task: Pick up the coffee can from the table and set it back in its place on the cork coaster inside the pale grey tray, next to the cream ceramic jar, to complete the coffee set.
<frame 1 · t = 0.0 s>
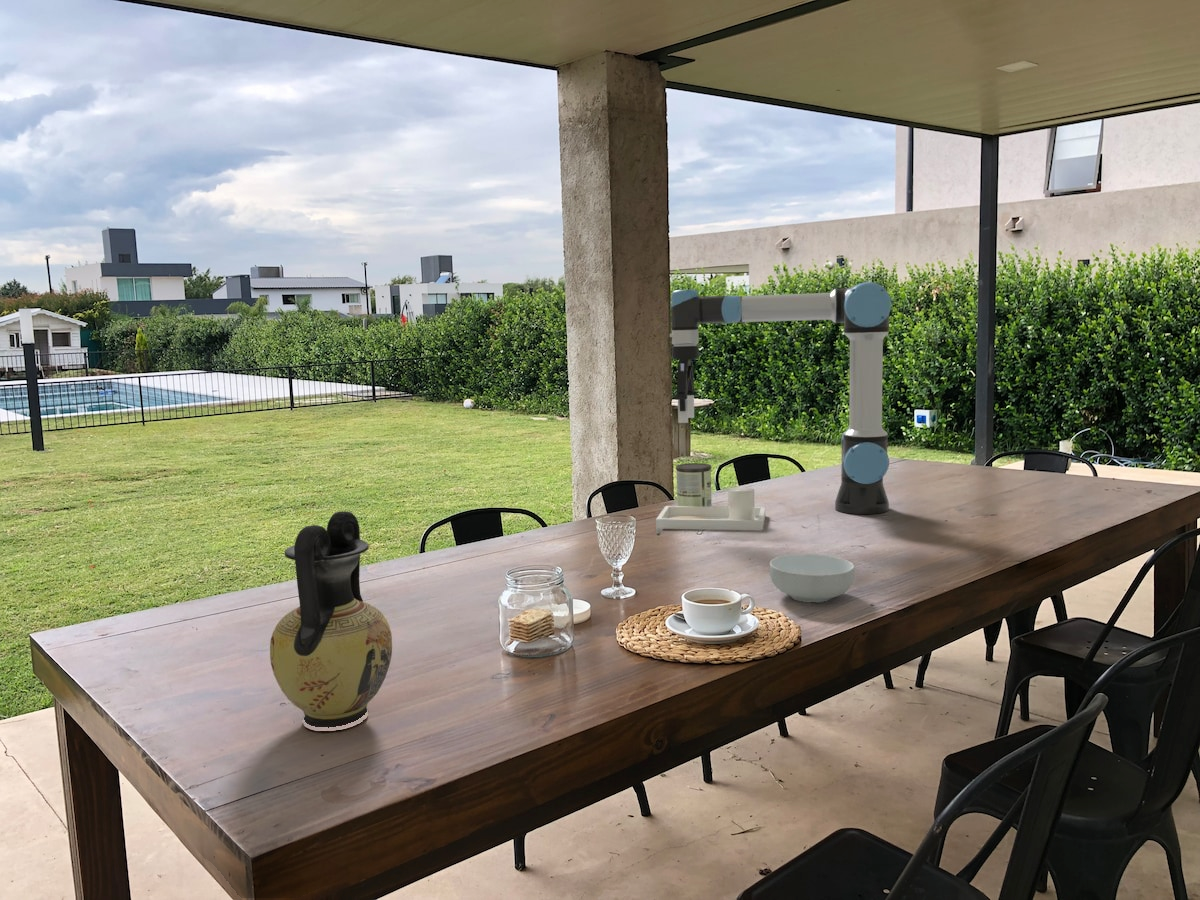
hand: (686, 420, 264), 28 cm above the table, fingers open, 13 cm apart
tray: (712, 527, 253), on the table
cereal bowl: (811, 598, 187), on the table
amphora: (337, 720, 135), on the table
coffee can: (694, 513, 273), on the table
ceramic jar: (741, 522, 251), point 1 cm above the table, touching tray
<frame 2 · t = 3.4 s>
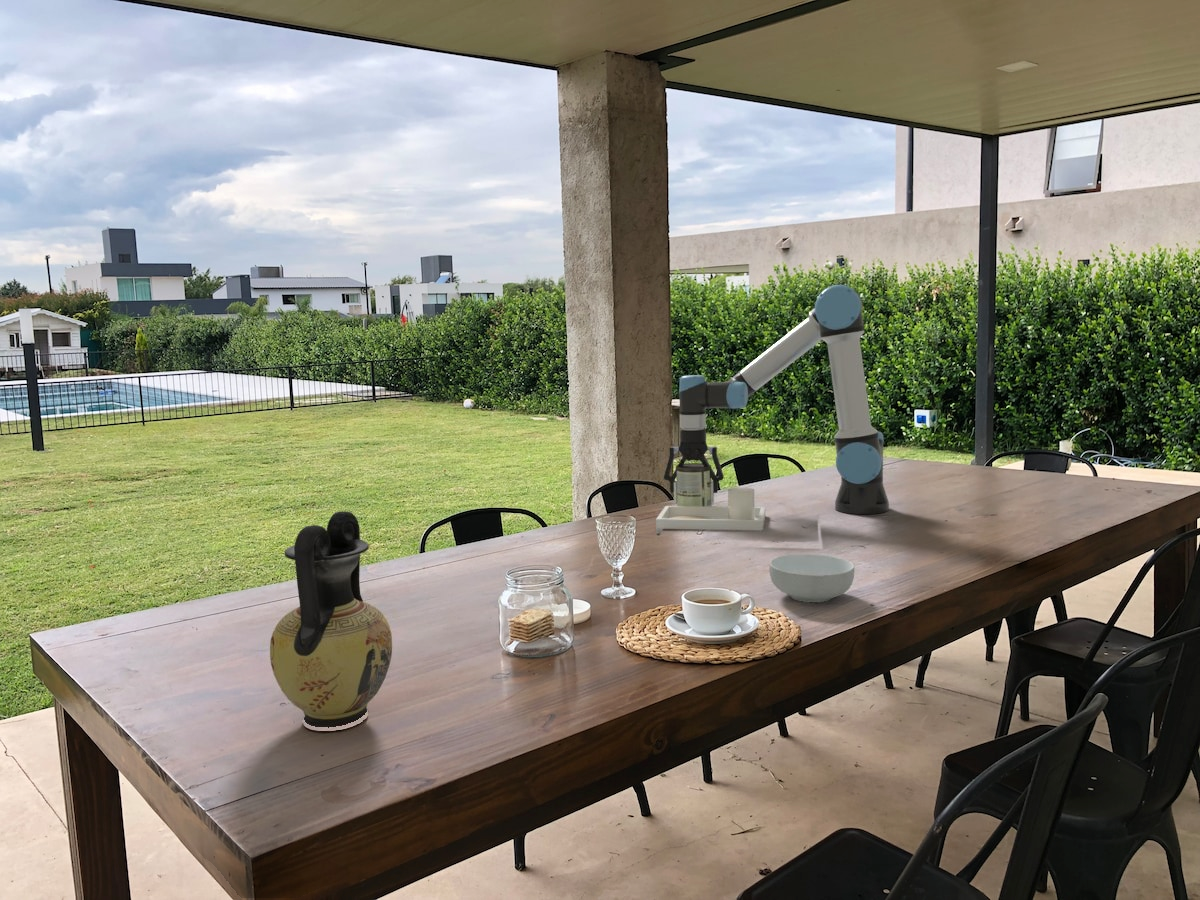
hand: (694, 503, 272), 3 cm above the table, fingers closed on coffee can, 10 cm apart
coffee can: (694, 513, 273), on the table, touching gripper
everything else where it was.
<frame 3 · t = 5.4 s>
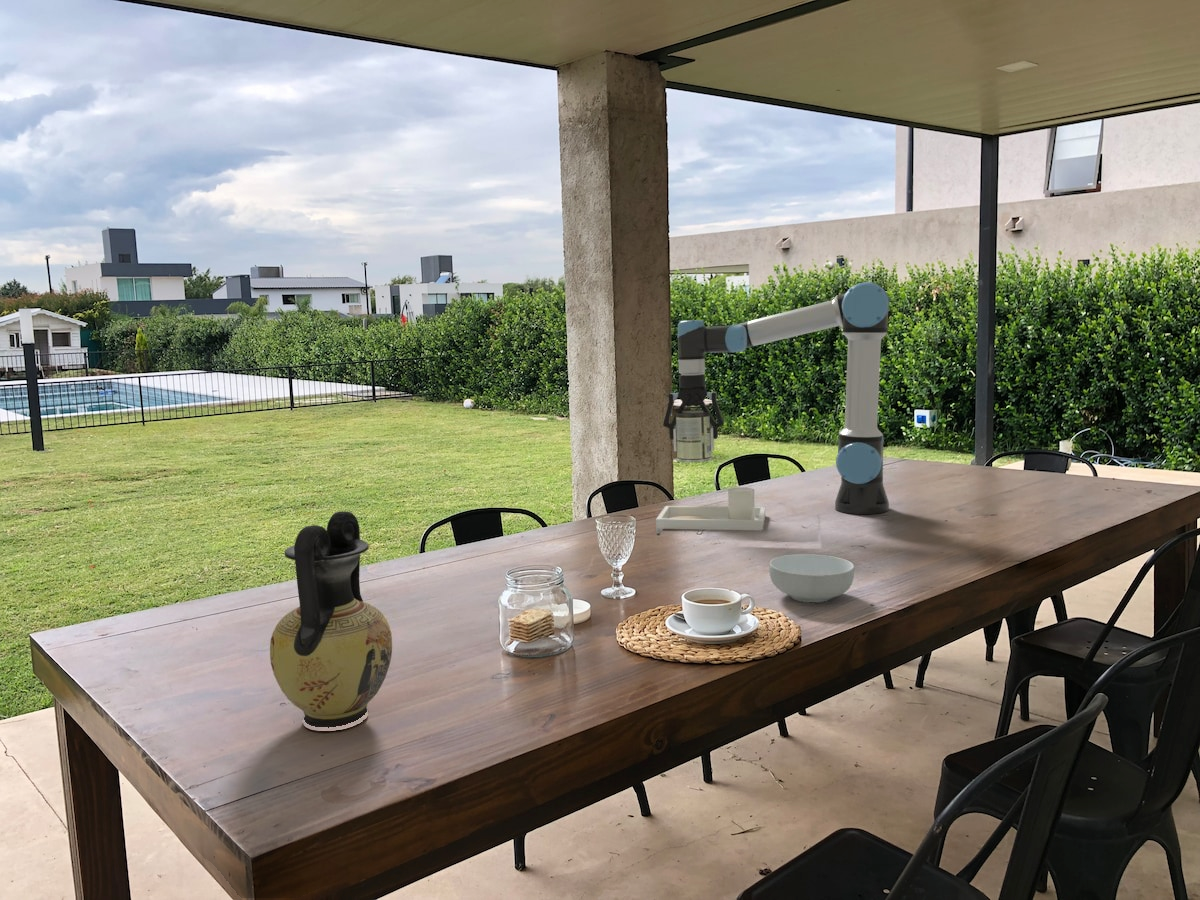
hand: (694, 450, 270), 19 cm above the table, fingers closed on coffee can, 10 cm apart
coffee can: (694, 460, 270), point 16 cm above the table, touching gripper
everything else where it was.
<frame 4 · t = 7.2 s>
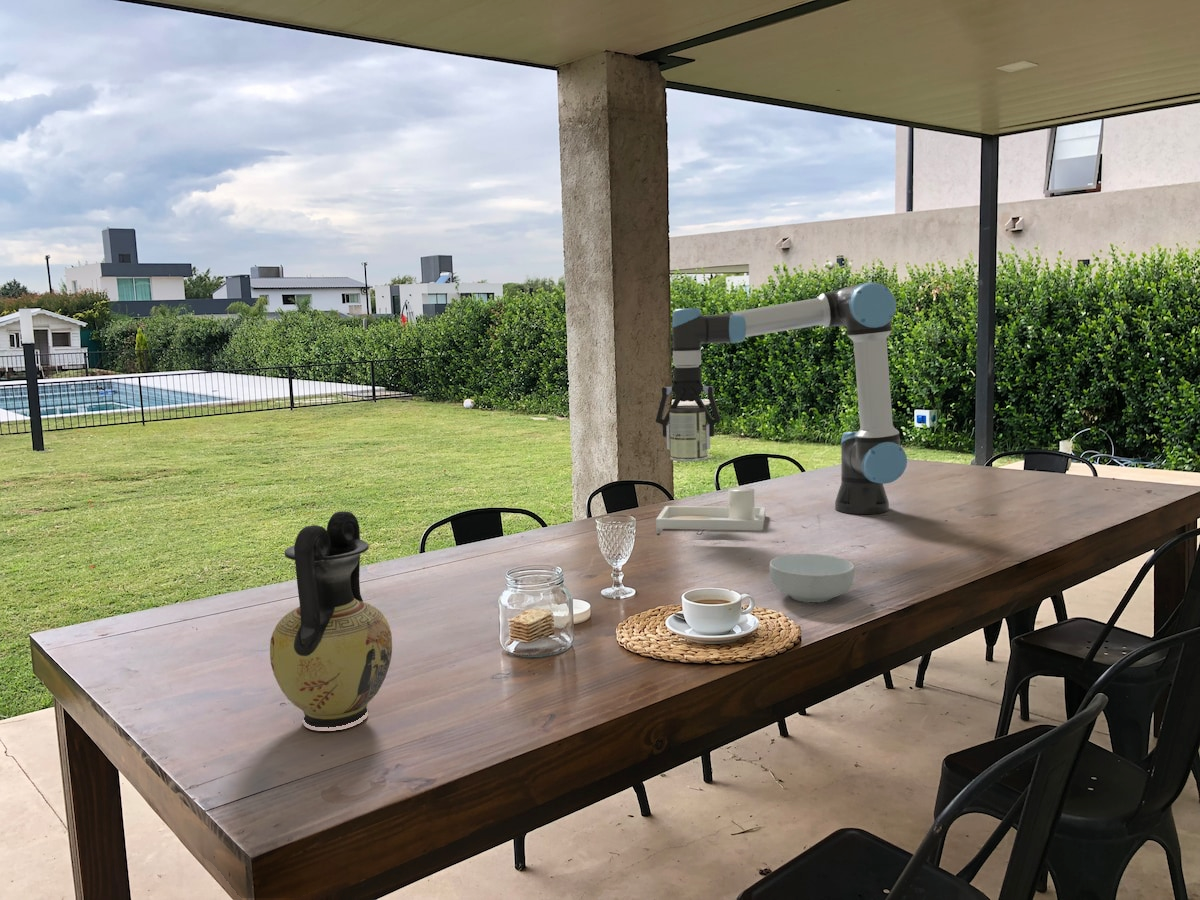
hand: (688, 448, 251), 22 cm above the table, fingers closed on coffee can, 10 cm apart
coffee can: (688, 459, 252), point 19 cm above the table, touching gripper
everything else where it was.
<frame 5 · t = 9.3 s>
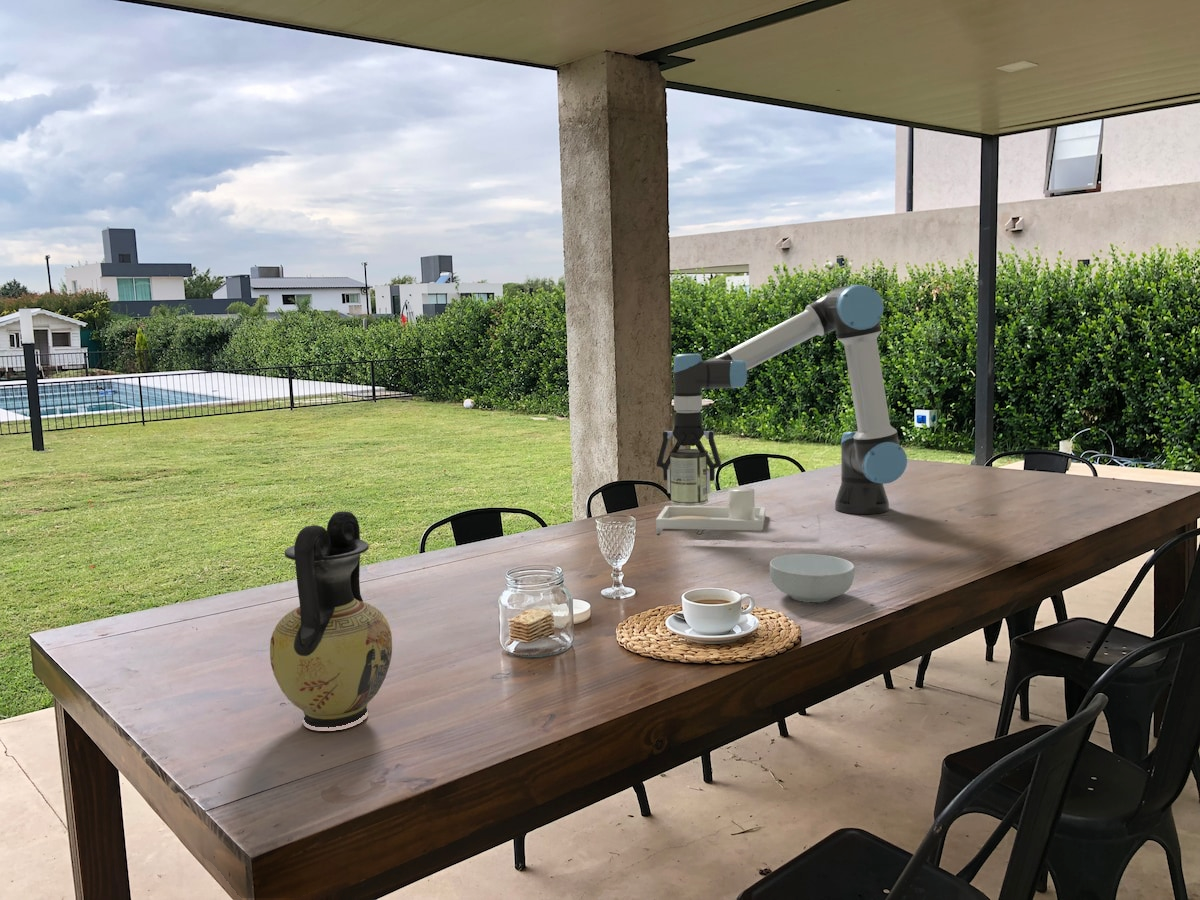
hand: (689, 492, 253), 10 cm above the table, fingers closed on coffee can, 10 cm apart
coffee can: (689, 503, 253), point 7 cm above the table, touching gripper
everything else where it was.
when the fingers open (6 cm above the table, at t = 11.1 s): coffee can drops 1 cm, resting on tray.
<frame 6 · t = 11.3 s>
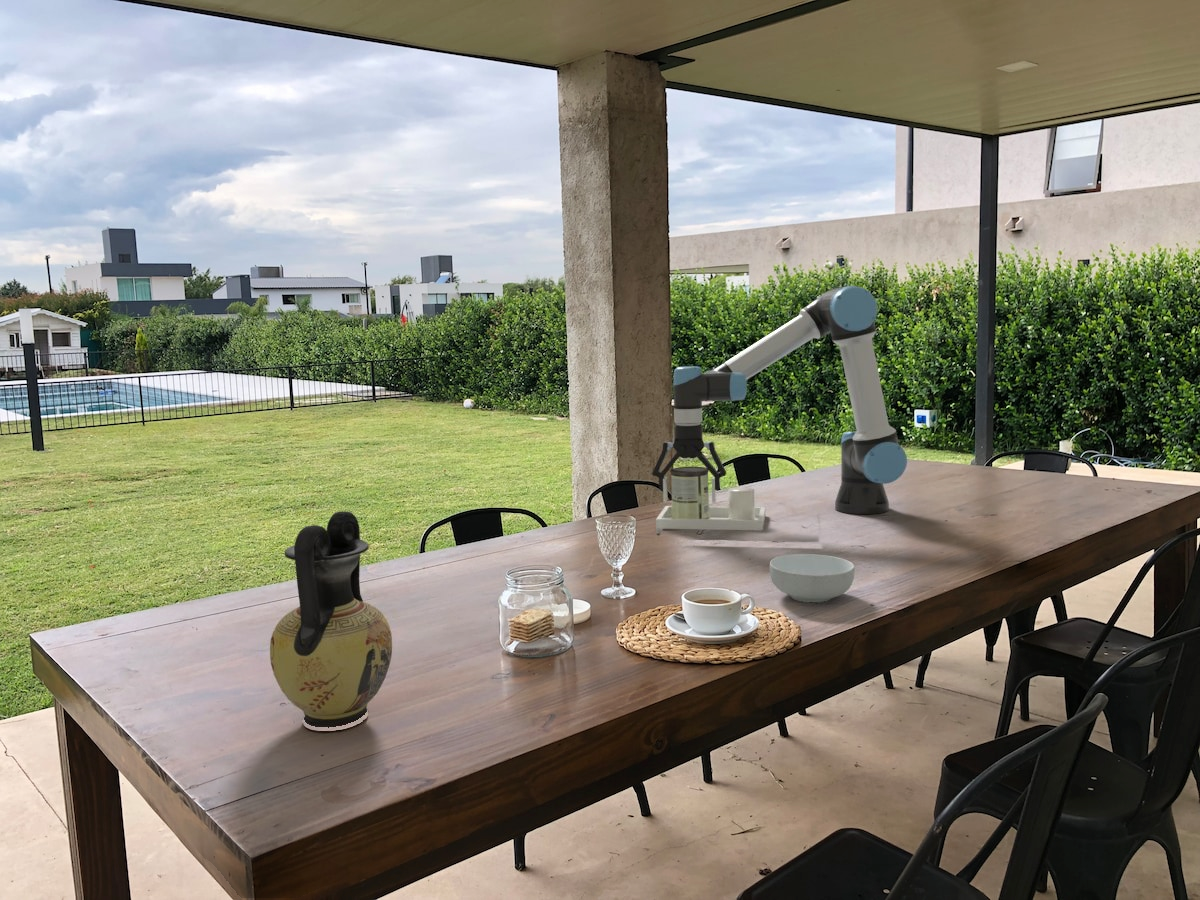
hand: (689, 501, 253), 7 cm above the table, fingers open, 13 cm apart
coffee can: (690, 520, 254), point 2 cm above the table, touching tray
everything else where it was.
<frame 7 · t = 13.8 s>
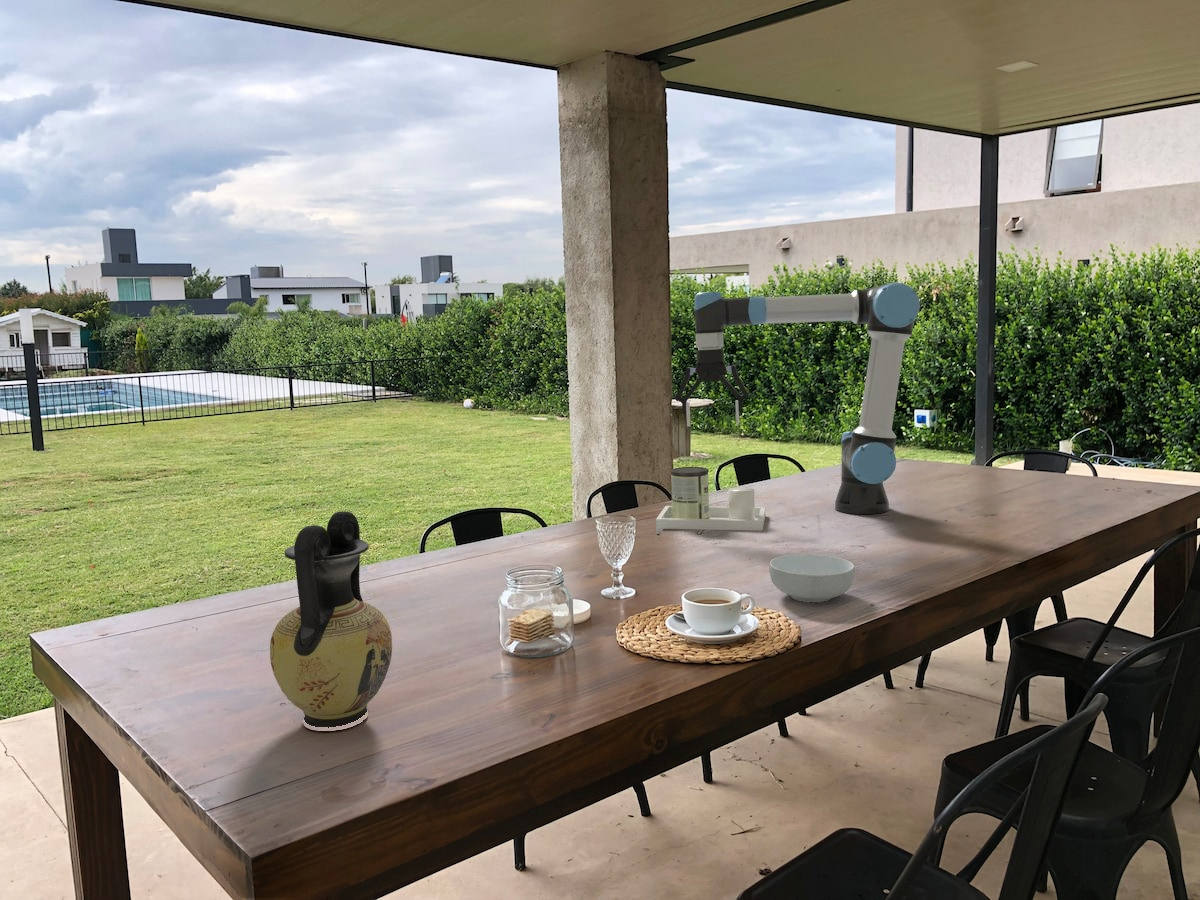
hand: (713, 425, 258), 27 cm above the table, fingers open, 13 cm apart
nothing on the table moved.
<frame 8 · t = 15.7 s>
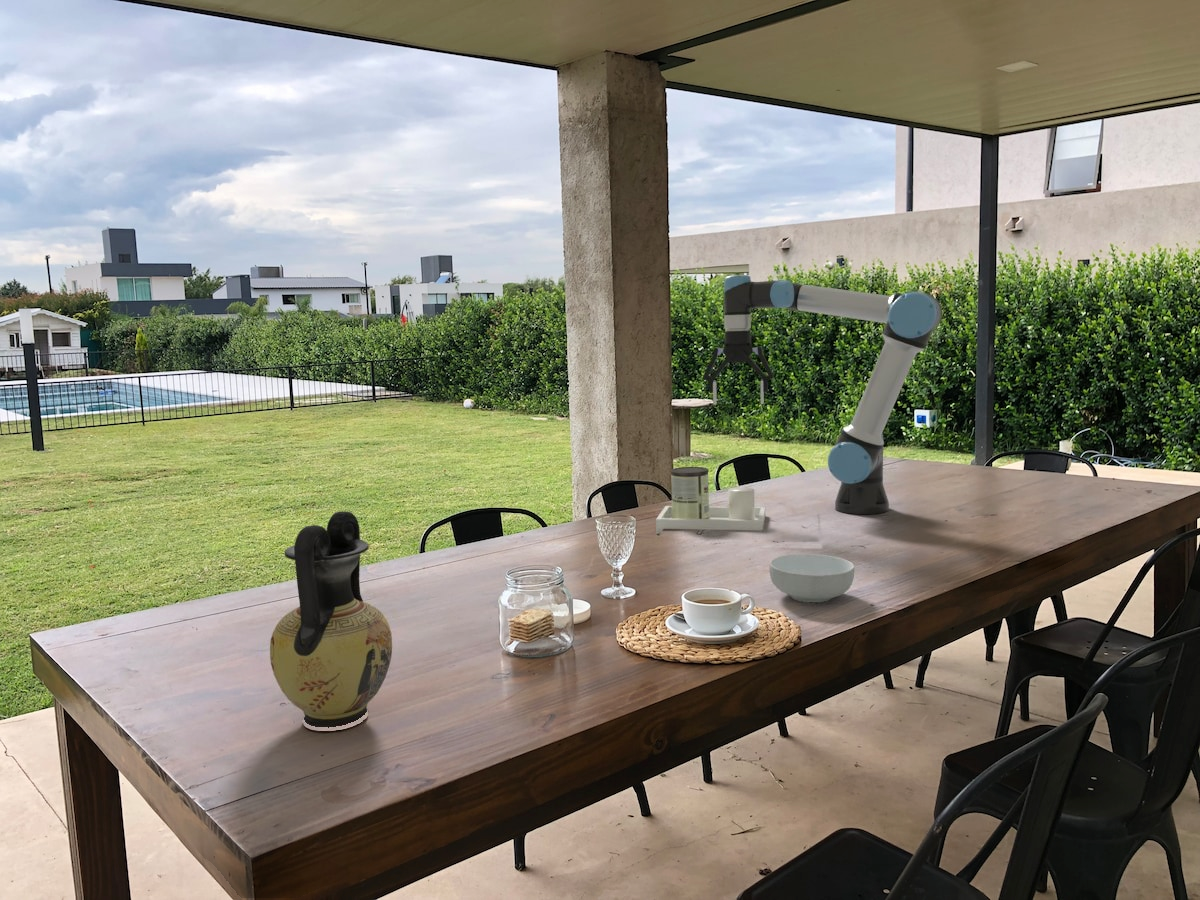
hand: (738, 404, 268), 32 cm above the table, fingers open, 13 cm apart
nothing on the table moved.
at the end: coffee can 0.2 cm from the target spot on the tray, point 1.7 cm above the tray's base; coffee can tilted 0°; the gripper is holding nothing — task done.
